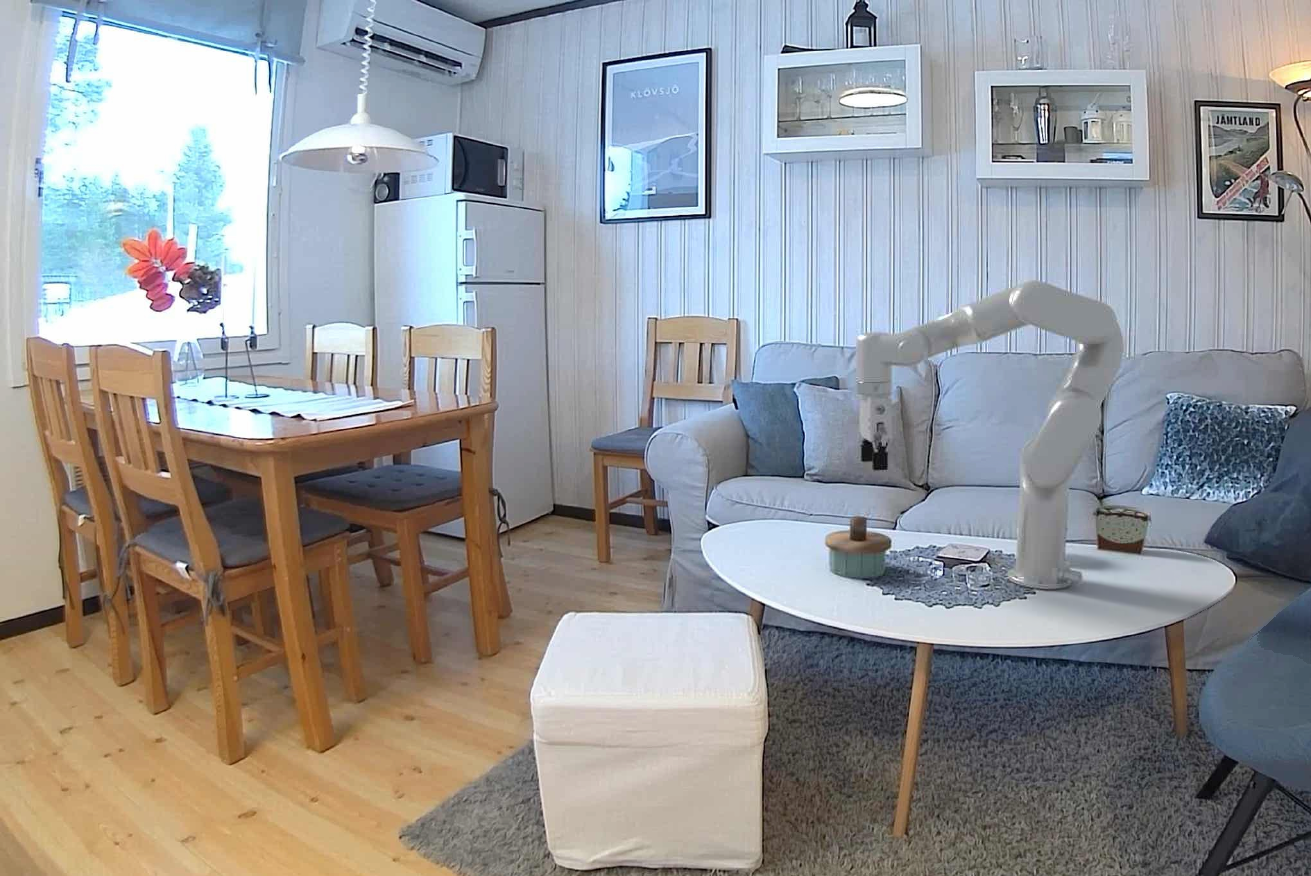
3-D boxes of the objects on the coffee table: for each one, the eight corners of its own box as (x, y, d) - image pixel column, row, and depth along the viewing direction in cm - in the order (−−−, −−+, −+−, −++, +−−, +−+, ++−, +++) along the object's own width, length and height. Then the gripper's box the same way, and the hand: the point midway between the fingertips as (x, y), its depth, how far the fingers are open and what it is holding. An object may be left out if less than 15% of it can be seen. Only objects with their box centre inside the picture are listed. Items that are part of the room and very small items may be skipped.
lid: (904, 548, 203) (905, 518, 202) (864, 562, 194) (865, 530, 193) (851, 535, 214) (852, 506, 213) (811, 548, 205) (812, 518, 204)
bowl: (895, 570, 204) (896, 544, 203) (862, 582, 197) (863, 555, 196) (852, 558, 213) (852, 533, 212) (818, 569, 206) (819, 544, 205)
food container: (1151, 549, 215) (1154, 508, 214) (1149, 556, 210) (1152, 514, 209) (1094, 542, 222) (1096, 502, 220) (1090, 549, 217) (1092, 508, 215)
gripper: (902, 392, 192) (902, 472, 195) (880, 384, 209) (880, 457, 212) (867, 394, 192) (867, 474, 195) (847, 385, 209) (848, 459, 212)
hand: (874, 465), depth 204 cm, fingers open, 9 cm apart
